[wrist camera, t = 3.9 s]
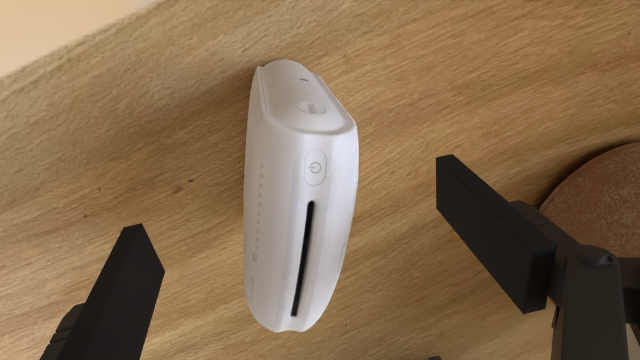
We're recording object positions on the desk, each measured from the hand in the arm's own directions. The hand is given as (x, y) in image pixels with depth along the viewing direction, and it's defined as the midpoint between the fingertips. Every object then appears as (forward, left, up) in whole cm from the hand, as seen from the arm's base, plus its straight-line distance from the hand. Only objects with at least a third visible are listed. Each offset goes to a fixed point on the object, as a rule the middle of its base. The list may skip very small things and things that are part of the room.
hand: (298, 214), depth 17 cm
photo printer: (0, 0, -9) cm, 9 cm away
